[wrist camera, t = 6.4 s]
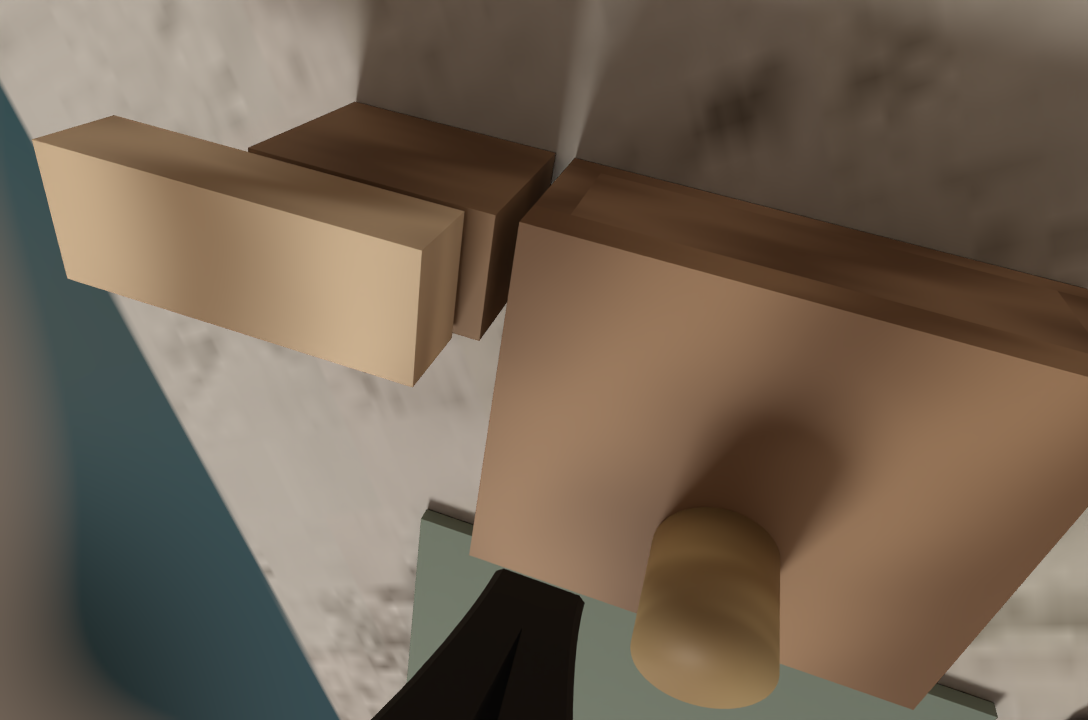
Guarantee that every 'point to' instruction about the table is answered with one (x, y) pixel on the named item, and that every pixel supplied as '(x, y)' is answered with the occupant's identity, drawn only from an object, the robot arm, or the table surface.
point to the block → (255, 244)
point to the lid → (769, 463)
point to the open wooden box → (653, 223)
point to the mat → (605, 657)
